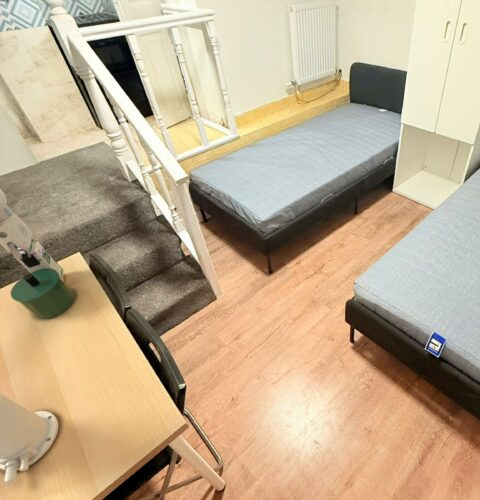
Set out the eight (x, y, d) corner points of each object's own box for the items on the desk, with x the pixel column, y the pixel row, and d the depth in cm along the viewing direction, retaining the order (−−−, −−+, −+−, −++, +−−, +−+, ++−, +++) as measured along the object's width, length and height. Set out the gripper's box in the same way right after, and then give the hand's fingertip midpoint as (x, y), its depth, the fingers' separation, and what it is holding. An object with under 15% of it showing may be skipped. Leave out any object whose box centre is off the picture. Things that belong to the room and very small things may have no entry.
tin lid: (65, 286, 101) (56, 276, 98) (17, 310, 95) (6, 301, 92) (54, 264, 108) (46, 254, 104) (9, 286, 102) (-2, 276, 98)
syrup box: (63, 280, 113) (36, 250, 103) (43, 287, 111) (14, 257, 101) (63, 269, 116) (37, 239, 106) (44, 276, 114) (15, 246, 104)
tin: (79, 303, 107) (62, 285, 100) (38, 325, 102) (17, 307, 95) (69, 283, 113) (52, 265, 107) (30, 303, 108) (10, 284, 101)
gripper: (6, 227, 90) (47, 272, 102) (13, 195, 101) (50, 239, 113) (-28, 237, 87) (19, 281, 100) (-16, 203, 98) (24, 246, 111)
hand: (35, 258), depth 107 cm, fingers closed on syrup box, 5 cm apart
